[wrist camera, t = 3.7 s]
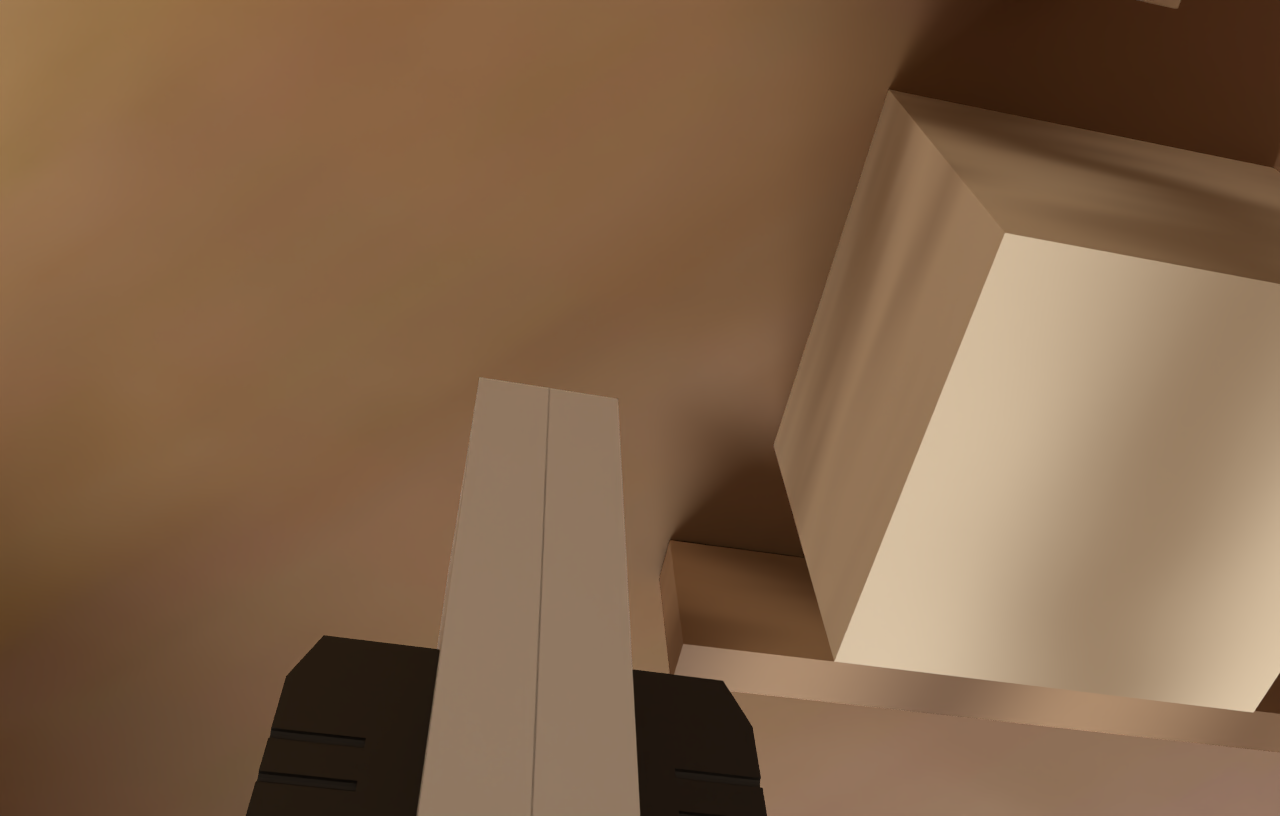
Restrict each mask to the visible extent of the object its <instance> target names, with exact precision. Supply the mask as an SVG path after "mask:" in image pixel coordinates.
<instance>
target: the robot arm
mask: <svg viewBox="0 0 1280 816" xmlns="http://www.w3.org/2000/svg"><path fill="white" fill-rule="evenodd" d="M760 779H761V776H760V770H759V764H758V758H757V752H756V746H755V740H754V733H753V727H752V726H751V724H750V722H749V721H748V719H747V718H746V716H745V714H744V713H743V711H742V710H741V708H740V707H739V705H738V703H737V702H736V700H735V699H734V697H733V696H732V694H731V692H730V691H729V689H728V688H727V686H726V685H725V683H724V681H722V680H714V679H706V678H698V677H690V676H681V675H673V674H665V673H657V672H649V671H640V670H632V652H631V634H630V615H629V596H628V577H627V559H626V540H625V521H624V502H623V484H622V465H621V446H620V427H619V409H618V399H617V398H611V397H604V396H598V395H591V394H585V393H578V392H572V391H566V390H559V389H553V388H546V387H540V386H534V385H527V384H521V383H514V382H508V381H501V380H495V379H489V378H482V377H479V383H478V390H477V396H476V402H475V408H474V415H473V421H472V427H471V433H470V439H469V446H468V452H467V458H466V464H465V471H464V477H463V483H462V489H461V496H460V502H459V508H458V514H457V520H456V527H455V533H454V539H453V545H452V552H451V558H450V564H449V570H448V577H447V584H446V591H445V598H444V605H443V612H442V618H441V625H440V632H439V639H438V646H437V649H431V648H423V647H415V646H406V645H398V644H390V643H382V642H373V641H365V640H357V639H349V638H341V637H332V636H323V637H322V638H321V639H320V640H319V641H318V642H317V643H316V644H315V646H314V647H313V648H312V649H311V650H310V651H309V652H308V653H307V654H306V655H305V656H304V658H303V659H302V660H301V661H300V662H299V663H298V664H297V665H296V666H295V667H294V668H293V670H292V671H291V672H290V673H289V674H288V675H287V676H286V679H285V683H284V686H283V690H282V693H281V696H280V700H279V703H278V707H277V710H276V714H275V717H274V721H273V724H272V727H271V734H270V738H268V741H267V745H266V748H265V752H264V755H263V759H262V762H261V765H260V769H259V775H258V779H257V782H256V783H255V786H254V790H253V793H252V796H251V800H250V803H249V807H248V810H247V814H246V816H767V813H766V807H765V801H764V795H763V788H760Z"/></svg>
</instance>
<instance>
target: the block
mask: <svg viewBox="0 0 1280 816" xmlns="http://www.w3.org/2000/svg"><path fill="white" fill-rule="evenodd" d="M773 446H774V449H775V453H776V456H777V460H778V463H779V467H780V470H781V474H782V478H783V481H784V485H785V488H786V492H787V495H788V499H789V502H790V506H791V510H792V513H793V517H794V520H795V524H796V527H797V531H798V534H799V538H800V542H801V545H802V549H803V552H804V556H805V559H806V563H807V566H808V570H809V573H810V577H811V581H812V584H813V588H814V591H815V595H816V598H817V602H818V605H819V609H820V613H821V616H822V620H823V623H824V627H825V630H826V634H827V637H828V641H829V645H830V648H831V652H832V655H833V659H834V662H842V663H850V664H858V665H867V666H875V667H883V668H891V669H900V670H908V671H916V672H924V673H932V674H941V675H949V676H957V677H965V678H973V679H982V680H990V681H998V682H1006V683H1015V684H1023V685H1031V686H1039V687H1047V688H1056V689H1064V690H1072V691H1080V692H1089V693H1097V694H1105V695H1113V696H1121V697H1130V698H1138V699H1146V700H1154V701H1163V702H1171V703H1179V704H1187V705H1195V706H1204V707H1212V708H1220V709H1228V710H1236V711H1245V712H1253V713H1254V711H1255V710H1256V708H1257V707H1258V705H1259V703H1260V702H1261V700H1262V699H1263V697H1264V696H1265V694H1266V693H1267V691H1268V690H1269V688H1270V687H1271V685H1272V684H1273V682H1274V681H1275V679H1276V678H1277V676H1278V675H1279V673H1280V172H1279V171H1278V170H1276V169H1275V168H1272V167H1267V166H1262V165H1258V164H1253V163H1248V162H1243V161H1238V160H1233V159H1228V158H1223V157H1218V156H1213V155H1208V154H1204V153H1199V152H1194V151H1189V150H1184V149H1179V148H1174V147H1169V146H1164V145H1159V144H1154V143H1150V142H1145V141H1140V140H1135V139H1130V138H1125V137H1120V136H1115V135H1110V134H1105V133H1100V132H1096V131H1091V130H1086V129H1081V128H1076V127H1071V126H1066V125H1061V124H1056V123H1051V122H1046V121H1042V120H1037V119H1032V118H1027V117H1022V116H1017V115H1012V114H1007V113H1002V112H997V111H992V110H988V109H983V108H978V107H973V106H968V105H963V104H958V103H953V102H948V101H943V100H938V99H933V98H929V97H924V96H919V95H914V94H909V93H904V92H899V91H894V90H889V89H888V92H887V95H886V99H885V102H884V105H883V108H882V111H881V114H880V117H879V120H878V123H877V126H876V130H875V133H874V136H873V139H872V142H871V145H870V148H869V151H868V154H867V157H866V160H865V164H864V167H863V170H862V173H861V176H860V179H859V182H858V185H857V188H856V191H855V195H854V198H853V201H852V204H851V207H850V210H849V213H848V216H847V219H846V222H845V225H844V229H843V232H842V235H841V238H840V241H839V244H838V247H837V250H836V253H835V256H834V260H833V263H832V266H831V269H830V272H829V275H828V278H827V281H826V284H825V287H824V290H823V294H822V297H821V300H820V303H819V306H818V309H817V312H816V315H815V318H814V321H813V325H812V328H811V331H810V334H809V337H808V340H807V343H806V346H805V349H804V352H803V355H802V359H801V362H800V365H799V368H798V371H797V374H796V377H795V380H794V383H793V386H792V390H791V393H790V396H789V399H788V402H787V405H786V408H785V411H784V414H783V417H782V420H781V424H780V427H779V430H778V433H777V436H776V439H775V442H774V445H773Z"/></svg>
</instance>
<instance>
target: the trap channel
mask: <svg viewBox="0 0 1280 816" xmlns="http://www.w3.org/2000/svg"><path fill="white" fill-rule="evenodd" d="M1138 1H1142V2H1147V3H1152V4H1156V5H1161V6H1165V7H1170V8H1174V9H1178V6H1179V4H1180V2H1181V0H1138ZM659 581H660V590H661V599H662V608H663V617H664V626H665V635H666V644H667V653H668V661H669V670H670V674H673V675H681V676H690V677H698V678H706V679H714V680H722V681H724V683H725V685H726V686H727V688H728V689H729V691H733V692H742V693H751V694H760V695H769V696H778V697H787V698H796V699H805V700H814V701H823V702H832V703H841V704H850V705H859V706H868V707H877V708H886V709H895V710H904V711H913V712H922V713H931V714H940V715H949V716H958V717H967V718H976V719H985V720H993V721H1002V722H1011V723H1020V724H1029V725H1038V726H1047V727H1056V728H1065V729H1074V730H1083V731H1092V732H1101V733H1110V734H1119V735H1128V736H1137V737H1146V738H1155V739H1164V740H1173V741H1182V742H1191V743H1200V744H1209V745H1218V746H1227V747H1236V748H1245V749H1254V750H1263V751H1272V752H1280V673H1279V675H1278V676H1277V678H1276V679H1275V681H1274V682H1273V684H1272V685H1271V687H1270V688H1269V690H1268V691H1267V693H1266V694H1265V696H1264V697H1263V699H1262V700H1261V702H1260V703H1259V705H1258V707H1257V708H1256V710H1255V711H1254V713H1253V712H1245V711H1236V710H1228V709H1220V708H1212V707H1204V706H1195V705H1187V704H1179V703H1171V702H1163V701H1154V700H1146V699H1138V698H1130V697H1121V696H1113V695H1105V694H1097V693H1089V692H1080V691H1072V690H1064V689H1056V688H1047V687H1039V686H1031V685H1023V684H1015V683H1006V682H998V681H990V680H982V679H973V678H965V677H957V676H949V675H941V674H932V673H924V672H916V671H908V670H900V669H891V668H883V667H875V666H867V665H858V664H850V663H842V662H834V659H833V655H832V652H831V648H830V645H829V641H828V637H827V634H826V630H825V627H824V623H823V620H822V616H821V613H820V609H819V605H818V602H817V598H816V595H815V591H814V588H813V584H812V581H811V577H810V573H809V570H808V566H807V563H806V559H805V558H801V557H794V556H786V555H778V554H771V553H763V552H755V551H748V550H740V549H733V548H725V547H717V546H710V545H702V544H694V543H687V542H679V541H672V540H670V542H669V545H668V549H667V552H666V556H665V560H664V563H663V567H662V570H661V574H660V578H659Z"/></svg>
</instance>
